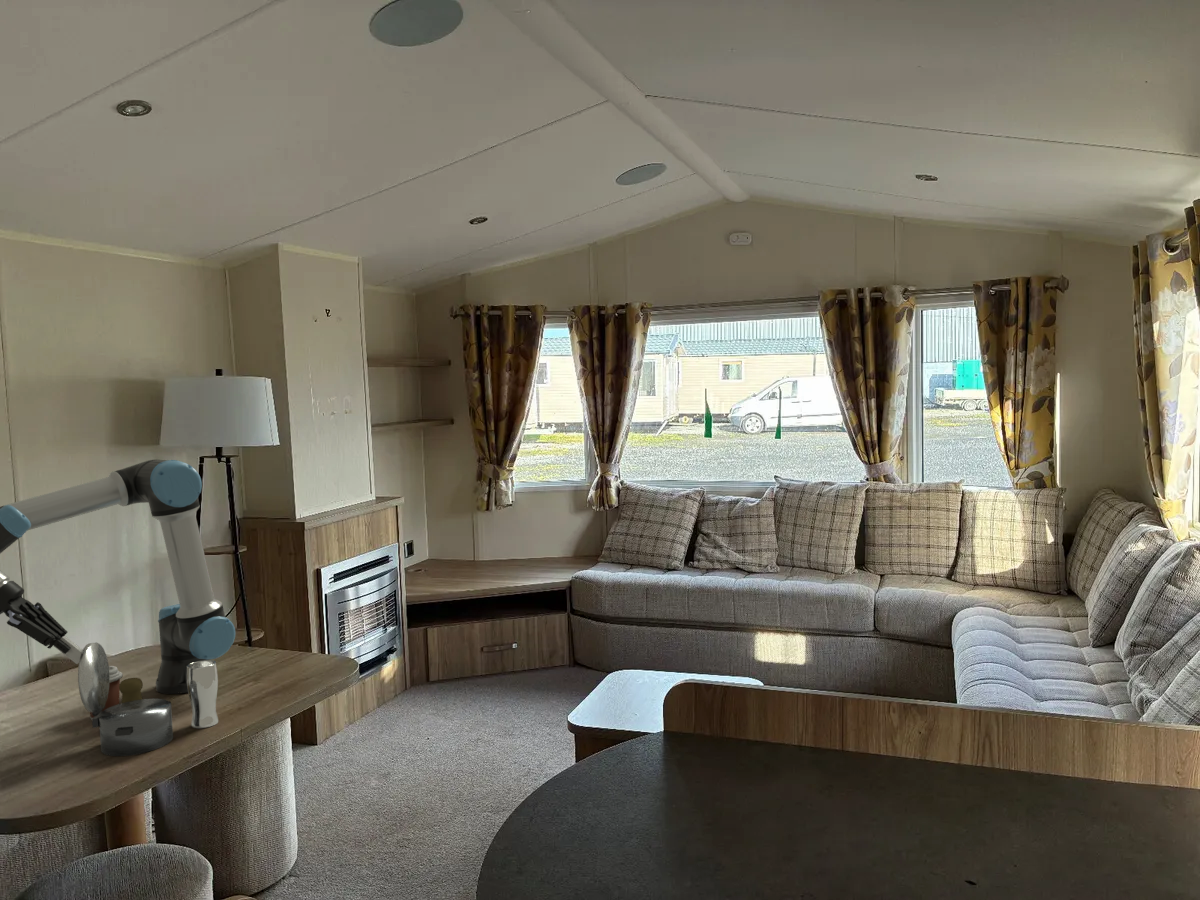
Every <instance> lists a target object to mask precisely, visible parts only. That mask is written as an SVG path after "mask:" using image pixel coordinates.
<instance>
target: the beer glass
mask: <svg viewBox="0 0 1200 900" xmlns="http://www.w3.org/2000/svg"><path fill="white" fill-rule="evenodd" d="M217 668H218V667H217V662H216V661H215V660H214V659H211V660H203V661H197V662H193V663H190V664H188V665H187V689H188V692H187V694H188V698H189V701H190V706H191V710H192V711H191V712H192V717H191V728H194V729H206V728H210V727H214V726H215V725H218V723H219V717H218V713H217V696H218V688H219V687H218V686H219V676H218V669H217Z"/></svg>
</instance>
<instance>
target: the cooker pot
mask: <svg viewBox="0 0 1200 900" xmlns="http://www.w3.org/2000/svg"><path fill="white" fill-rule="evenodd" d="M172 712H173V711H172V703H171V701H170V700H167V699H163V698H144V699H143V698H142V699H141V700H134V701H129V702H125V703H122V702H121V703H119V704H118V705H115V706H112V707H109V708H107V709H105V710H104V711H101V712H100V713H99V714H98V715H97V716H95V717H94V718H93V719H92V720H91V722H92V723H91V725H92V728H99V736H100V737H99V738H100V751H101V753H102V754H104V755H105V756H111V757H126V756H128V757H129V756H135V755H141V754H144V753H145V754H146V753H149V752H151V751H155V750H158V749H160V748H162V747H165V746H167V745H168V744H169V743H170V742H172V741H173V738H174V729H173V728H174V727H173V714H172Z"/></svg>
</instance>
